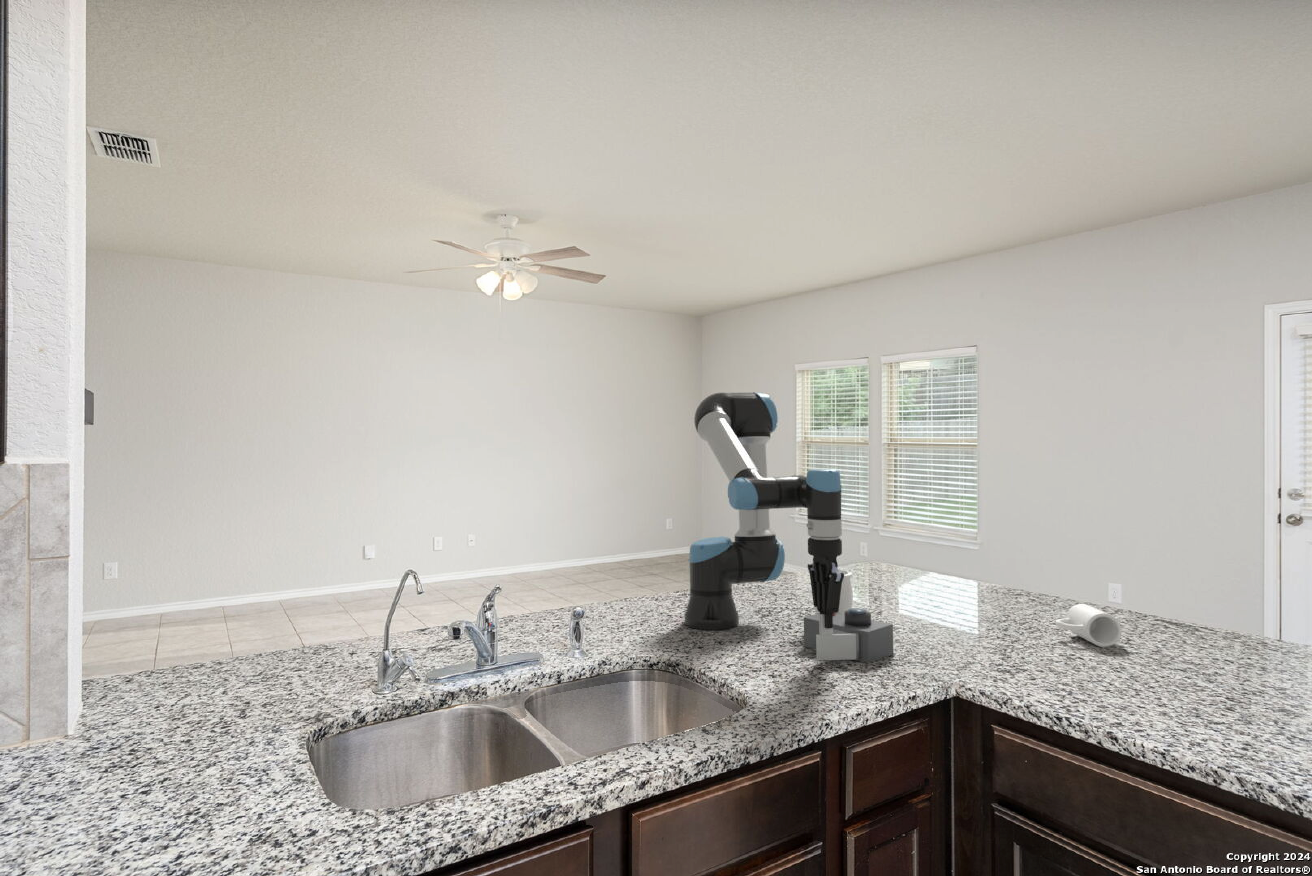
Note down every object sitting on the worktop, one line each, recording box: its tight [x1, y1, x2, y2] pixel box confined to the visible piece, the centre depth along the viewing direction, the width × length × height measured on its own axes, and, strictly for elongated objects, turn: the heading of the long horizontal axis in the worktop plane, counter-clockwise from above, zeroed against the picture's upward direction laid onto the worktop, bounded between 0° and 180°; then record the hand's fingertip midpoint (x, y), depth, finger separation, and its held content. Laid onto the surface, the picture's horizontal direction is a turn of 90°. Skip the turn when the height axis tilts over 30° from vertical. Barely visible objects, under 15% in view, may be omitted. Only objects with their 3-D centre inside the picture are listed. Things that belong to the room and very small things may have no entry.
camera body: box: [803, 607, 894, 664], centre depth 160 cm, size 18×10×10 cm, turn 39°
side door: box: [815, 633, 859, 661], centre depth 151 cm, size 10×1×6 cm, turn 92°
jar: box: [814, 569, 854, 614], centre depth 179 cm, size 11×10×15 cm
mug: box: [1055, 603, 1123, 648], centre depth 164 cm, size 12×10×8 cm
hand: (826, 641), depth 152 cm, fingers closed
